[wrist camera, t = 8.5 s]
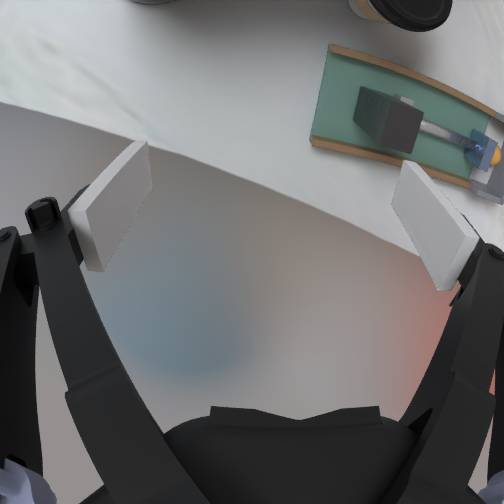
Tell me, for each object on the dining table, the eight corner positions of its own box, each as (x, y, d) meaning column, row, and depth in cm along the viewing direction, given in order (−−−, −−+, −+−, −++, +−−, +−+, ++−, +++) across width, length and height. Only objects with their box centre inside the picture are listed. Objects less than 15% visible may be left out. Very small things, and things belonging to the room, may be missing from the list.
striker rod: (360, 85, 34) (391, 100, 25) (481, 132, 35) (524, 161, 27) (352, 119, 37) (379, 145, 28) (471, 159, 38) (511, 192, 30)
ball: (506, 150, 35) (488, 138, 38) (500, 147, 33) (481, 135, 36) (499, 170, 37) (481, 159, 40) (492, 169, 36) (473, 157, 38)
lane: (329, 44, 32) (334, 44, 29) (488, 108, 34) (501, 114, 31) (309, 139, 41) (312, 147, 38) (462, 181, 42) (473, 191, 40)
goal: (486, 107, 34) (504, 116, 30) (513, 123, 34) (530, 133, 30) (461, 180, 42) (475, 194, 38) (488, 191, 43) (502, 205, 39)
